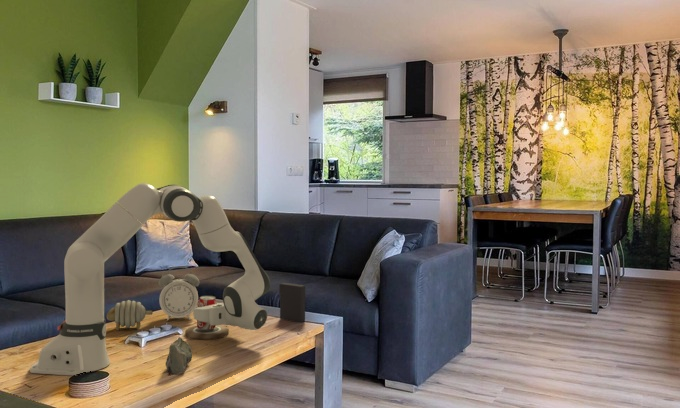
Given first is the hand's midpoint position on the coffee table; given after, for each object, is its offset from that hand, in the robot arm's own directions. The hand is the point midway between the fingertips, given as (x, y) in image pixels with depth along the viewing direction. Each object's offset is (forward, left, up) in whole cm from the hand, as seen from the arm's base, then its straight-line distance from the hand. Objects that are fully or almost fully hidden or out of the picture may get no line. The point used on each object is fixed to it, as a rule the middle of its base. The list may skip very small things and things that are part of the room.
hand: (205, 306), depth 221 cm
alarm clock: (-14, +22, -10) cm, 29 cm away
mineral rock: (-1, -39, -10) cm, 40 cm away
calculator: (+33, +20, -10) cm, 40 cm away
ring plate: (+1, -1, -10) cm, 10 cm away
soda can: (0, 0, -8) cm, 9 cm away
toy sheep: (-30, +7, -10) cm, 33 cm away
